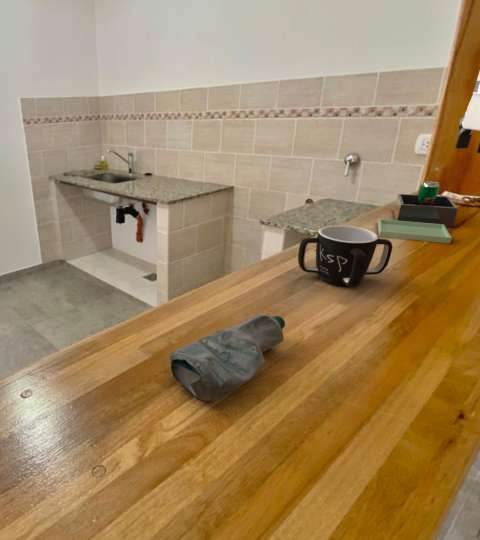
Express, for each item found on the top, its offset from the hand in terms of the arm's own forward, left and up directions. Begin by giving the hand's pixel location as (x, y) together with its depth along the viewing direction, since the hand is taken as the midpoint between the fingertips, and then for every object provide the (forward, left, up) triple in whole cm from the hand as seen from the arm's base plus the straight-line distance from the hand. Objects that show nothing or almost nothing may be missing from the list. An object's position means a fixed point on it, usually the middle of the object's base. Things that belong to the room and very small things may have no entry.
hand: (471, 150), depth 115 cm
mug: (+29, +58, -23) cm, 69 cm away
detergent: (+43, +101, -23) cm, 112 cm away
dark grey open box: (+7, -3, -23) cm, 24 cm away
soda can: (+7, -3, -23) cm, 24 cm away
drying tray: (+11, +14, -23) cm, 29 cm away
